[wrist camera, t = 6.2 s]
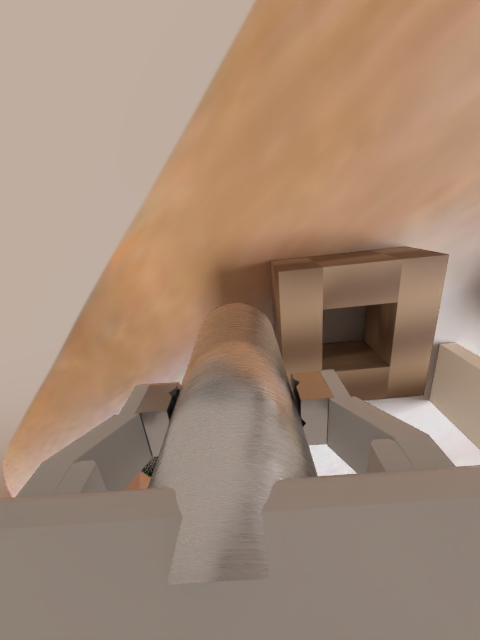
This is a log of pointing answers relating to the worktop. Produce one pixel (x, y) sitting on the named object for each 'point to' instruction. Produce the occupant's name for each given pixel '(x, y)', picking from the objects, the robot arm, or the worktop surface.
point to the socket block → (380, 320)
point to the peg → (230, 447)
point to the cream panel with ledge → (458, 389)
